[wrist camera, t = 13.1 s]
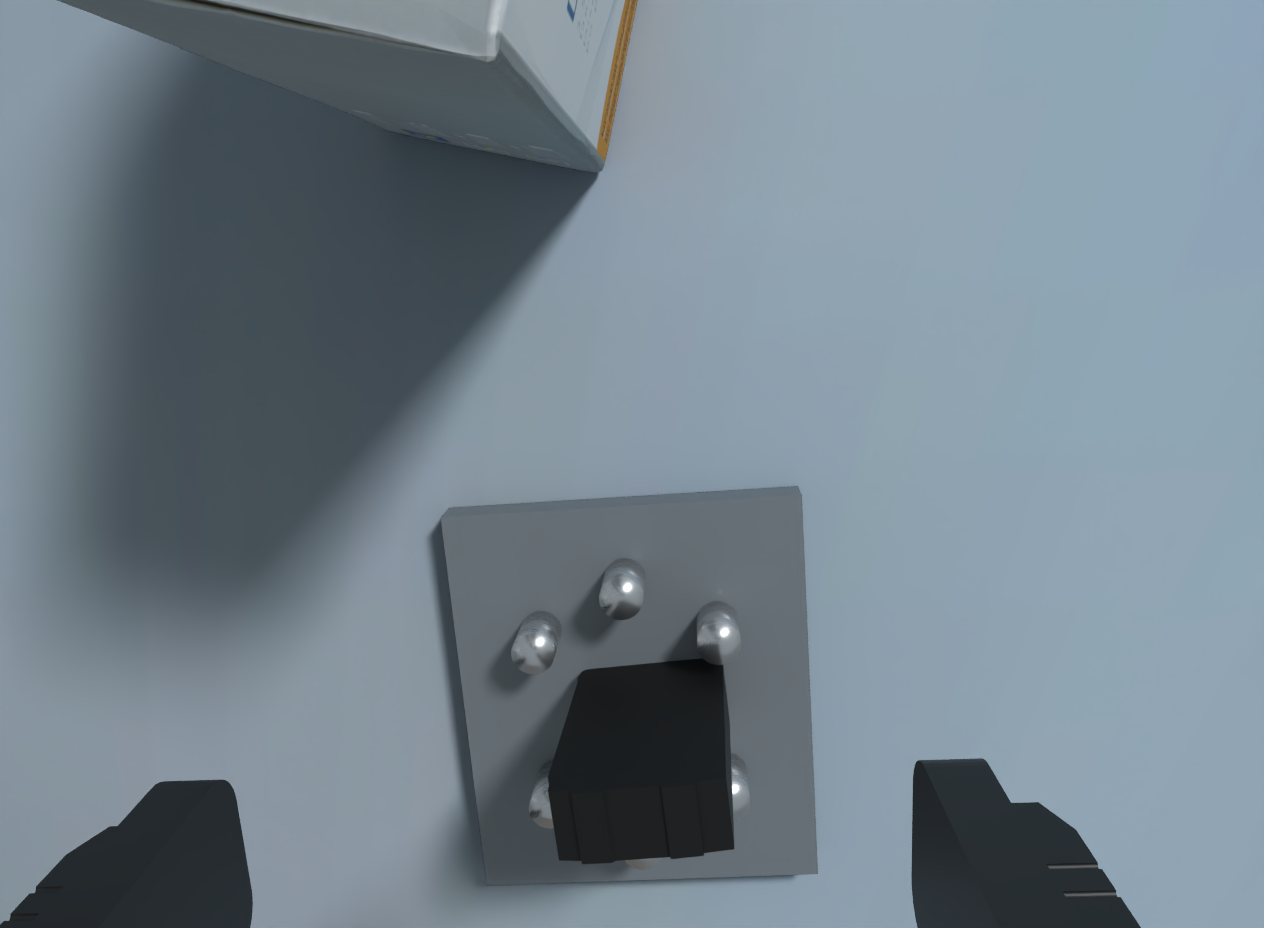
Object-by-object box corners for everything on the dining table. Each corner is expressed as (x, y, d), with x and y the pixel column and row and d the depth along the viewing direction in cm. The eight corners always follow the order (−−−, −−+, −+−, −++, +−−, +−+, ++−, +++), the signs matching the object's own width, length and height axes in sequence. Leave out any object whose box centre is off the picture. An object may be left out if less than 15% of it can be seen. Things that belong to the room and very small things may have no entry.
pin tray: (493, 865, 38) (475, 922, 35) (448, 508, 35) (425, 535, 32) (814, 853, 37) (825, 910, 34) (797, 486, 34) (808, 511, 31)
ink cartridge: (588, 728, 35) (553, 870, 27) (579, 668, 35) (541, 795, 27) (729, 718, 35) (735, 859, 27) (723, 656, 34) (726, 783, 26)
